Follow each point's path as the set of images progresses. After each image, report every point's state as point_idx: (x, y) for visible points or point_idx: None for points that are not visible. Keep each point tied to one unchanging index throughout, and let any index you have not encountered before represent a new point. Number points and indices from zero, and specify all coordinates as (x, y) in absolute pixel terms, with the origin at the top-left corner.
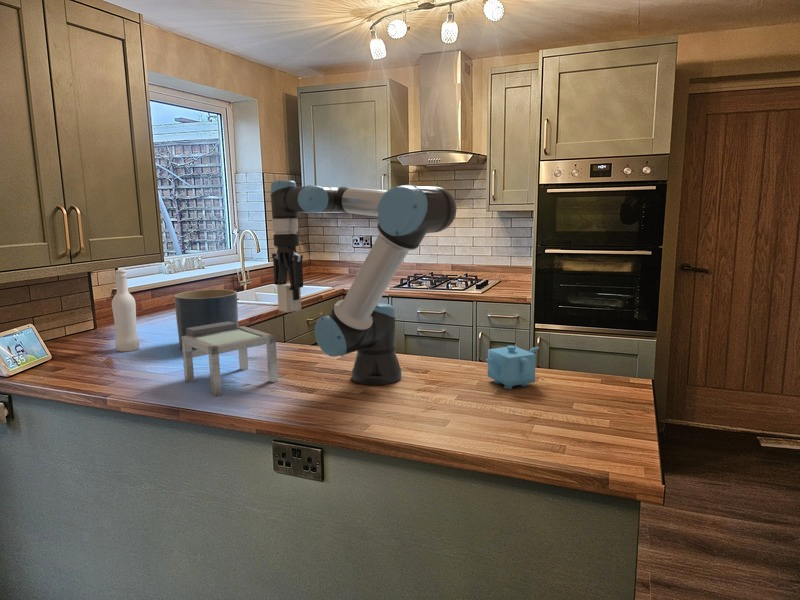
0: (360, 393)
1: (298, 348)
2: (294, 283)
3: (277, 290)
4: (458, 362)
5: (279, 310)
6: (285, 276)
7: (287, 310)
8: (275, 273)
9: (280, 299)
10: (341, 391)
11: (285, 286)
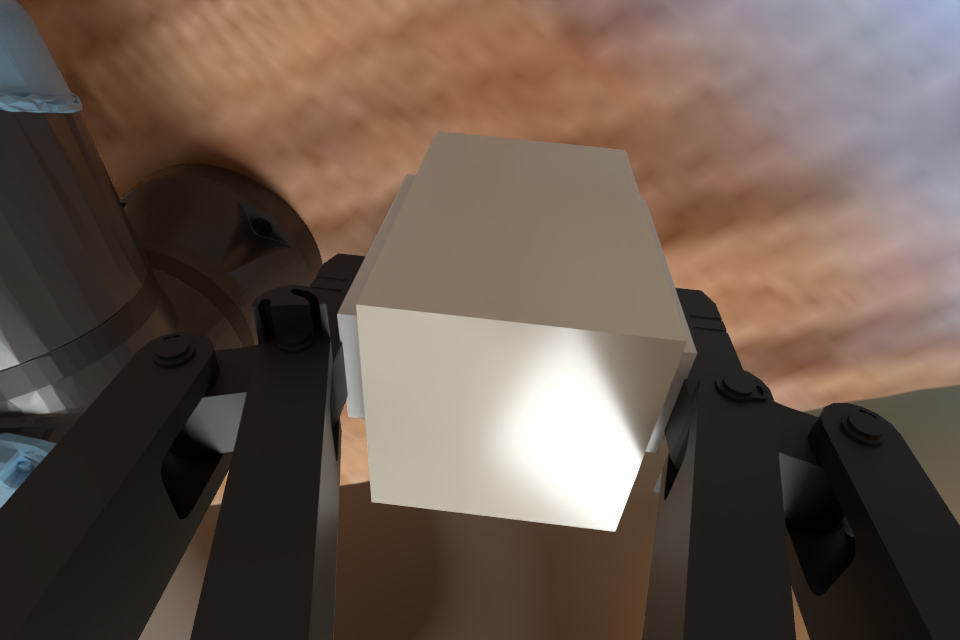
0: (71, 73)
1: (842, 364)
2: (174, 386)
3: (663, 276)
4: (221, 487)
5: (606, 150)
6: (657, 593)
7: (432, 141)
8: (947, 623)
9: (574, 202)
10: (137, 34)
11: (375, 301)
